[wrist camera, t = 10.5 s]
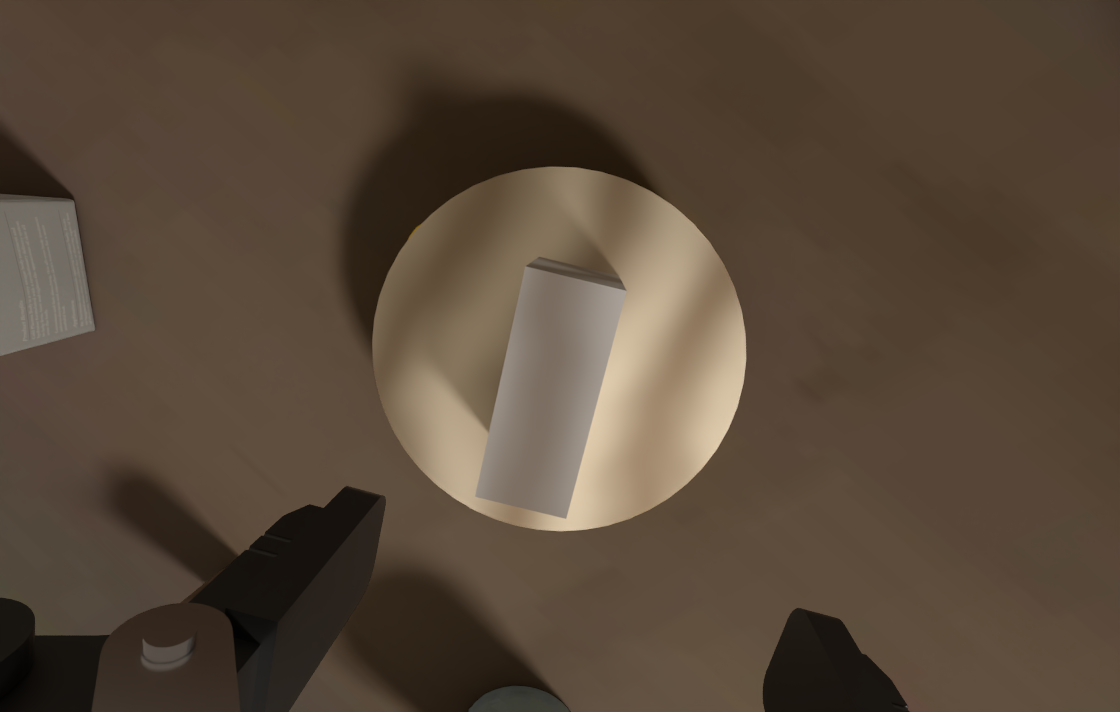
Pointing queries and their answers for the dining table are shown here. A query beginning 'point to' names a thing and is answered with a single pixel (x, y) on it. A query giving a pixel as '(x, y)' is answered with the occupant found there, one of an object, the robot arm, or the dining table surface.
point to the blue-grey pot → (518, 701)
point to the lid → (559, 348)
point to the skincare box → (41, 273)
